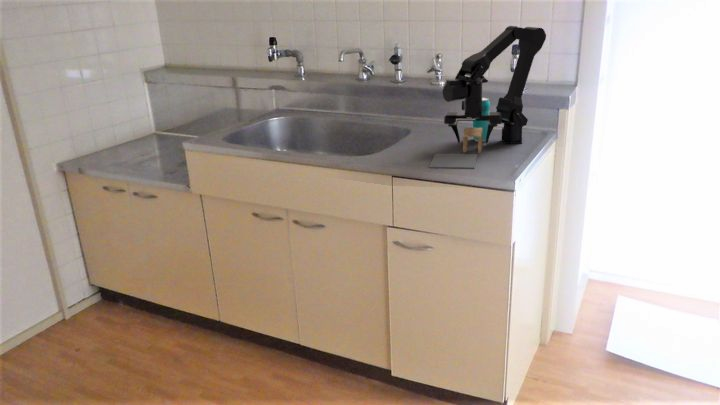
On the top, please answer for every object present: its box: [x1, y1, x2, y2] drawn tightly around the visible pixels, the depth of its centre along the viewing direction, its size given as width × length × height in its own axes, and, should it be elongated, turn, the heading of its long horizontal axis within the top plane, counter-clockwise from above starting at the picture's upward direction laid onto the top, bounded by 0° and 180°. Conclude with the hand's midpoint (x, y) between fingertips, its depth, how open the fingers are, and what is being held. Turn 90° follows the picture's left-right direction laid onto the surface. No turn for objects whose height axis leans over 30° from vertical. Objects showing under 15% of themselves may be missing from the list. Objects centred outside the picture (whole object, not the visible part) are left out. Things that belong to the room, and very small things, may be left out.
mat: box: [429, 152, 478, 170], centre depth 194 cm, size 14×14×1 cm
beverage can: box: [472, 96, 491, 143], centre depth 212 cm, size 6×6×15 cm
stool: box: [462, 127, 483, 154], centre depth 204 cm, size 6×6×7 cm
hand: (472, 142), depth 204 cm, fingers open, 9 cm apart
